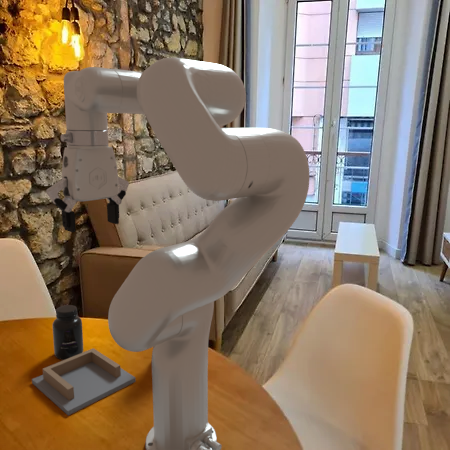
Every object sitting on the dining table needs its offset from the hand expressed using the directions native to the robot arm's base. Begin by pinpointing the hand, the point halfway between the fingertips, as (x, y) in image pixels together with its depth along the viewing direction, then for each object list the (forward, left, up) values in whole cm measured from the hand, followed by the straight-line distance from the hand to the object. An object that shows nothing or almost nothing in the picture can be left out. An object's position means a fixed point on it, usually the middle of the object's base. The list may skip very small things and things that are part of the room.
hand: (92, 226), depth 88 cm
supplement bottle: (+18, -2, -36) cm, 40 cm away
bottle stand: (+4, +2, -36) cm, 36 cm away
